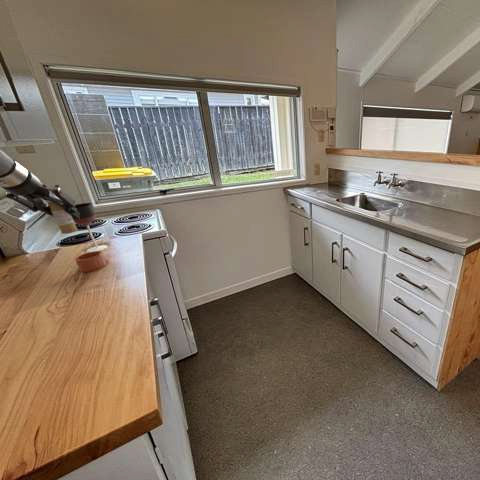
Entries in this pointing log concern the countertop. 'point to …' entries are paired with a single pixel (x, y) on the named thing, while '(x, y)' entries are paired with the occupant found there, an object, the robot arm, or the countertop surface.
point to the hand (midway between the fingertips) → (70, 216)
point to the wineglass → (87, 222)
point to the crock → (90, 261)
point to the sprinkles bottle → (62, 218)
